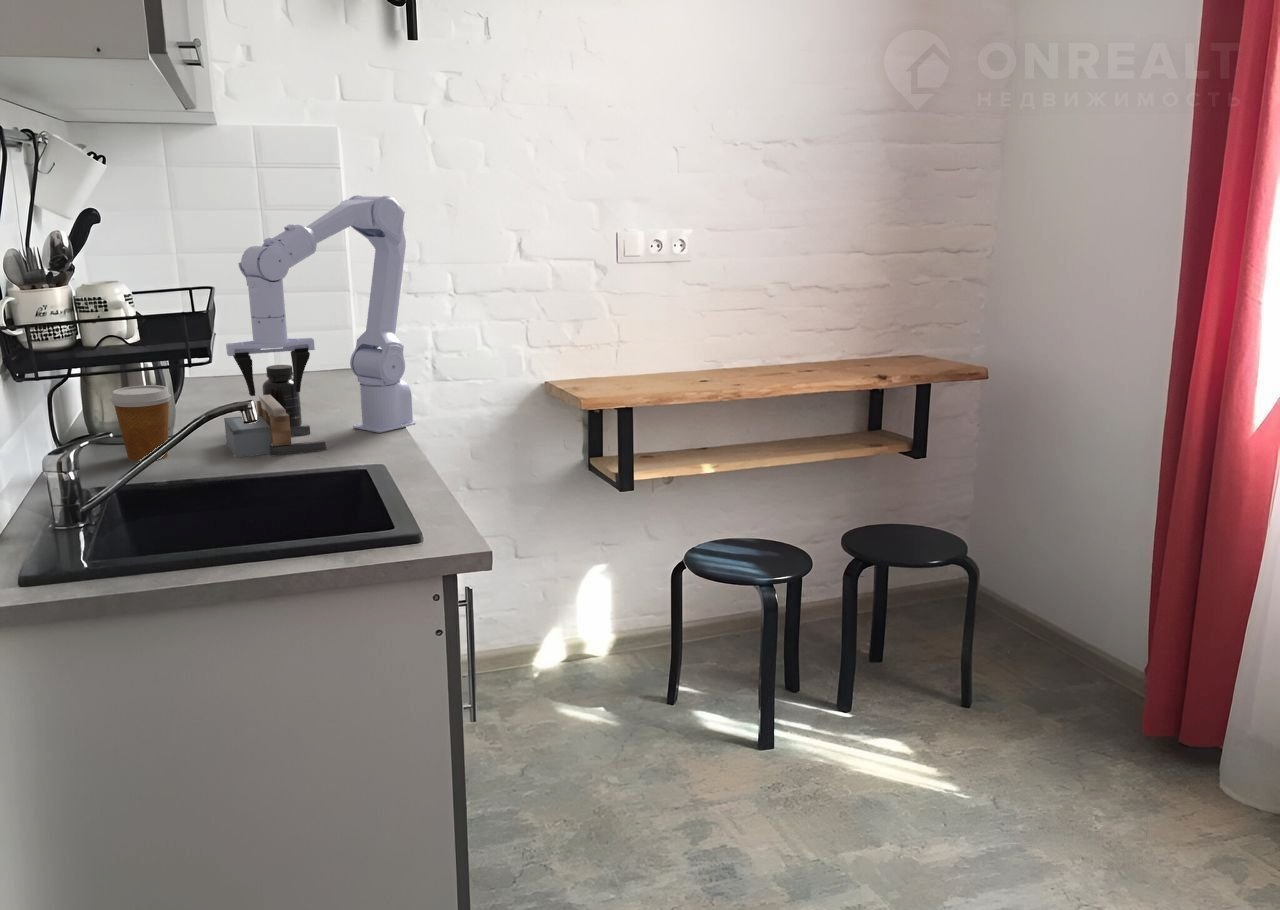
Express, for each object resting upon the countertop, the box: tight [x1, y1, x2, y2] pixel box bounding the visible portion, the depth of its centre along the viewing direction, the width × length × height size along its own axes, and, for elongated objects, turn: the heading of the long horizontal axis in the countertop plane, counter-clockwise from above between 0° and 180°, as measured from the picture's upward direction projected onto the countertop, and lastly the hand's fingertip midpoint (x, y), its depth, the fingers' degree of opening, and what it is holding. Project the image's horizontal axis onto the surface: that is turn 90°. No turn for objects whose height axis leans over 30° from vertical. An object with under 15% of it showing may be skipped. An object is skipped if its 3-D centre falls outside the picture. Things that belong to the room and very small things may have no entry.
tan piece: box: [256, 394, 292, 446], centre depth 195 cm, size 3×16×7 cm, turn 28°
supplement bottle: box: [261, 364, 303, 427], centre depth 209 cm, size 7×7×12 cm
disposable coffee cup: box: [110, 384, 172, 463], centre depth 186 cm, size 10×10×12 cm
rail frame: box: [269, 424, 327, 457], centre depth 197 cm, size 10×15×2 cm, turn 28°
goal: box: [223, 414, 273, 458], centre depth 193 cm, size 6×11×5 cm, turn 28°
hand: (275, 393), depth 190 cm, fingers open, 7 cm apart
